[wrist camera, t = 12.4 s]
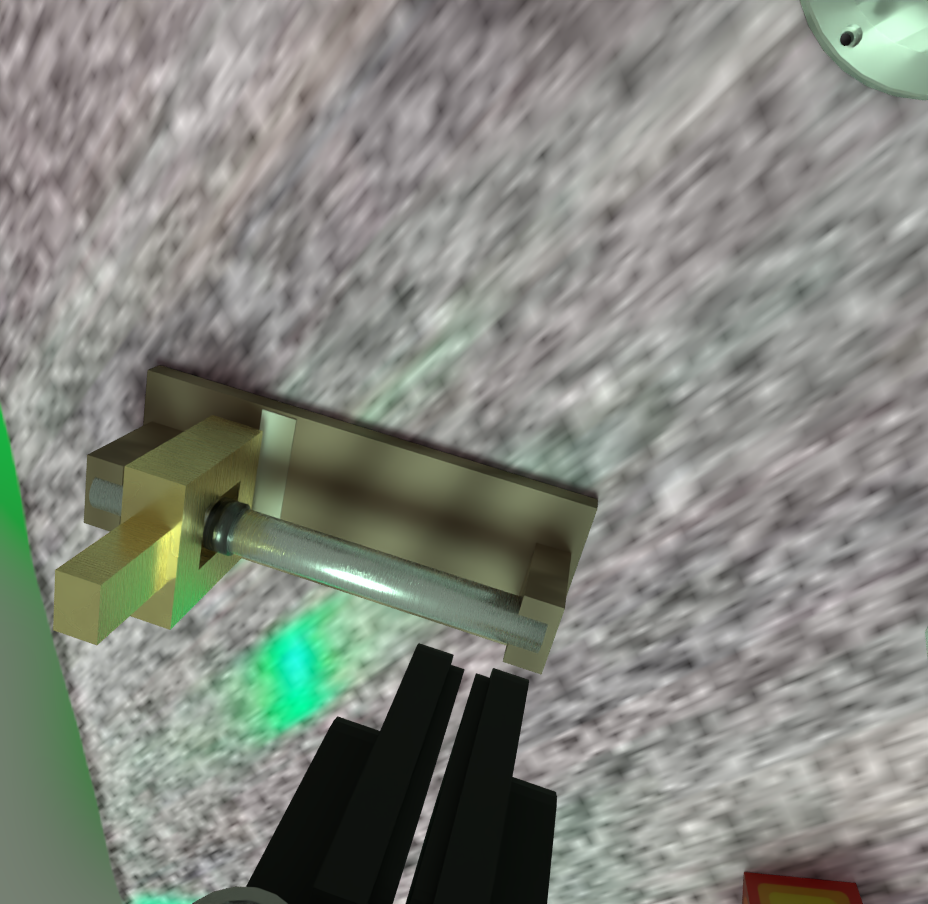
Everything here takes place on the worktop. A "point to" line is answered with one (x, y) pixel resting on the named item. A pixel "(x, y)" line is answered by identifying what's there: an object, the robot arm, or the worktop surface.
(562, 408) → the worktop surface
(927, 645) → the french press
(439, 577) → the pipe
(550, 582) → the pipe stand
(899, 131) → the worktop surface
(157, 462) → the collar
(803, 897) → the baking soda box
